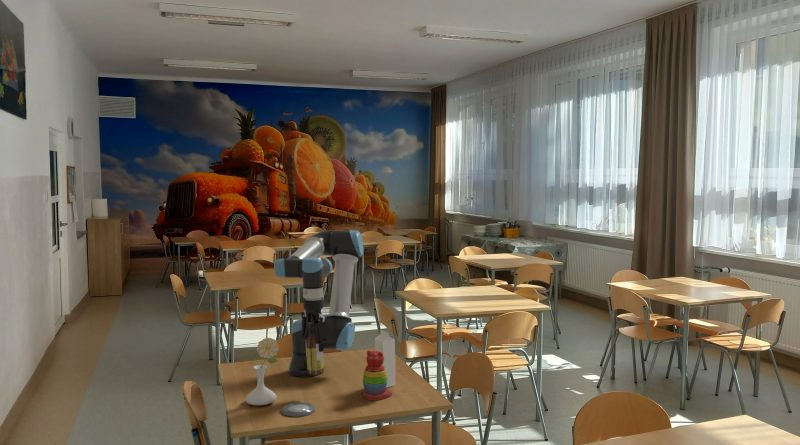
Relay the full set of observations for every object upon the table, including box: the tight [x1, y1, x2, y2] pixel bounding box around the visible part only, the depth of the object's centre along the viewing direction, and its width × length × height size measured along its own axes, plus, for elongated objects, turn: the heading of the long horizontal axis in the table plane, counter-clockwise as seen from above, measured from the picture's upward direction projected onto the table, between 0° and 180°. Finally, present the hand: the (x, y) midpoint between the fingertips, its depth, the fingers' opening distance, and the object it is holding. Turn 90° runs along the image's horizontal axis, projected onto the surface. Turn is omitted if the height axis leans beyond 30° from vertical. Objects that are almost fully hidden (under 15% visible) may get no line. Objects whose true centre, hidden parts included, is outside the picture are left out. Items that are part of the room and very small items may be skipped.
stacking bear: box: [362, 350, 393, 401], centre depth 245 cm, size 11×10×18 cm
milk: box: [374, 330, 396, 389], centre depth 257 cm, size 6×6×22 cm
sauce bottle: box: [306, 322, 325, 376], centre depth 245 cm, size 6×6×20 cm
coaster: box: [281, 402, 316, 418], centre depth 231 cm, size 12×12×1 cm
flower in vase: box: [245, 336, 280, 406], centre depth 239 cm, size 13×11×25 cm
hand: (314, 357), depth 245 cm, fingers closed on sauce bottle, 6 cm apart
